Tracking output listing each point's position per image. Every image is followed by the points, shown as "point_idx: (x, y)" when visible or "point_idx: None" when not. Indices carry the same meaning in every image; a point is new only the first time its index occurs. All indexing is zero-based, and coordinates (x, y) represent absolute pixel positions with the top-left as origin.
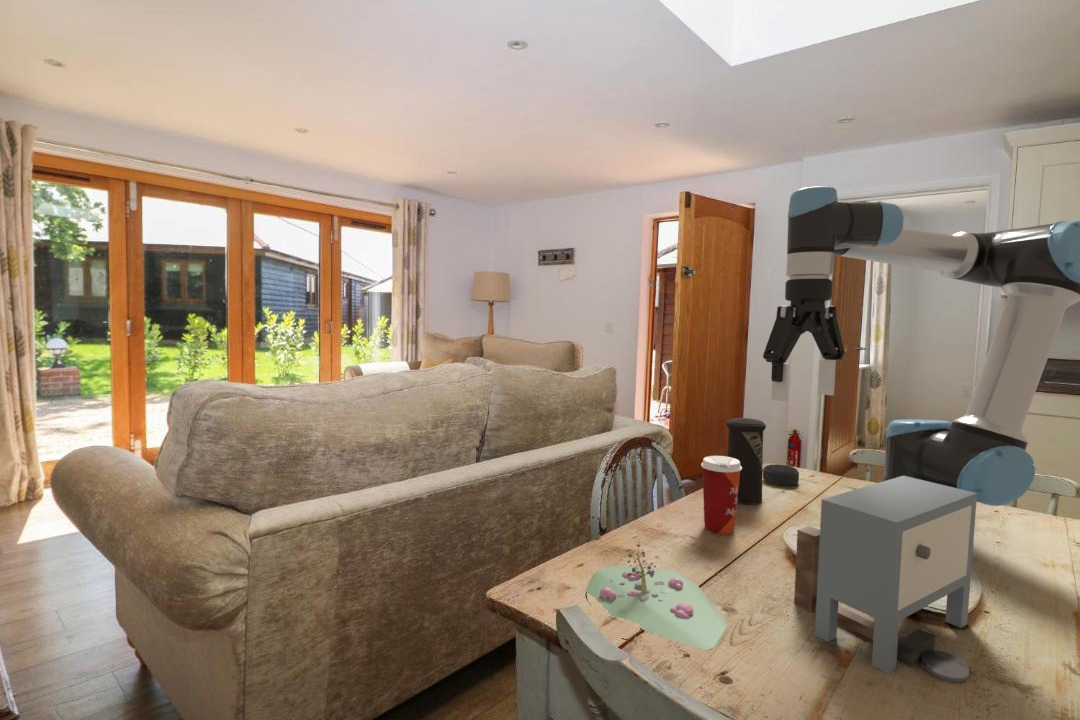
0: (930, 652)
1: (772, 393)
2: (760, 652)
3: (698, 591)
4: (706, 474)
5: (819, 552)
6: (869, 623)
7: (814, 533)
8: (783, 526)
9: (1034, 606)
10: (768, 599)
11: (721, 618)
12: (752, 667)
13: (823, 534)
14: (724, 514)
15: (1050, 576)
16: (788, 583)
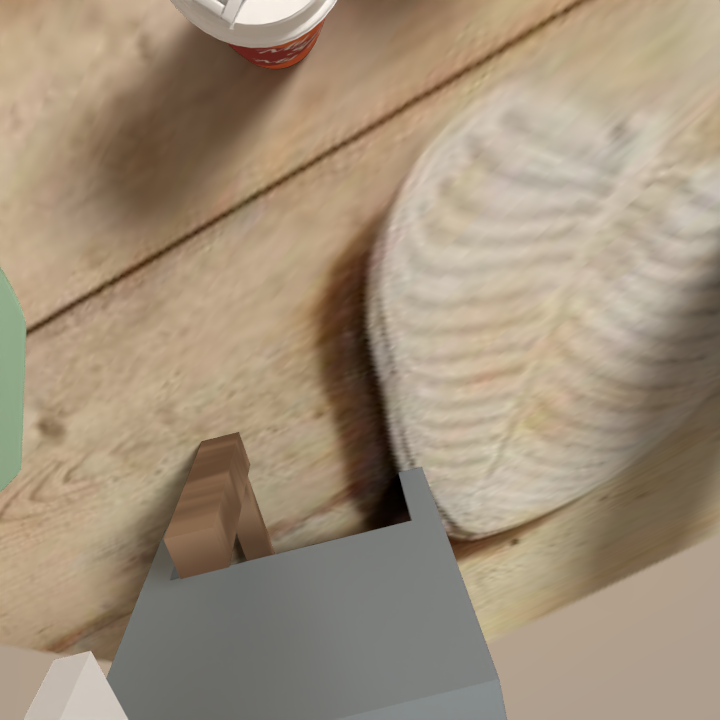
0: None
1: (32, 716)
2: (39, 546)
3: (13, 354)
4: None
5: (116, 655)
6: (259, 557)
7: (191, 565)
8: (492, 71)
9: (608, 547)
10: (157, 417)
11: (18, 452)
12: (5, 571)
13: None
14: (250, 58)
15: None
16: (245, 375)
